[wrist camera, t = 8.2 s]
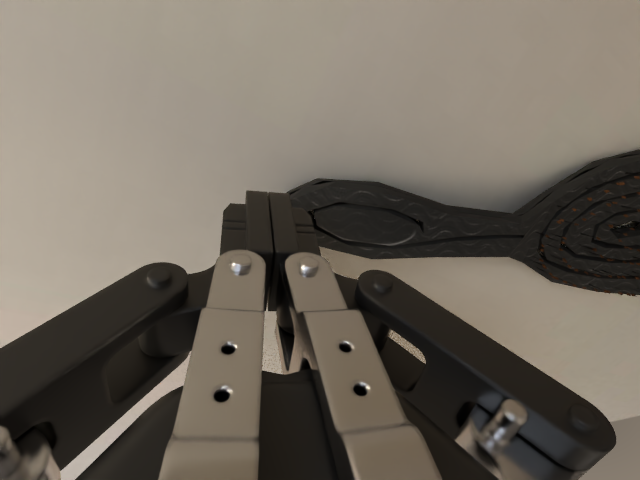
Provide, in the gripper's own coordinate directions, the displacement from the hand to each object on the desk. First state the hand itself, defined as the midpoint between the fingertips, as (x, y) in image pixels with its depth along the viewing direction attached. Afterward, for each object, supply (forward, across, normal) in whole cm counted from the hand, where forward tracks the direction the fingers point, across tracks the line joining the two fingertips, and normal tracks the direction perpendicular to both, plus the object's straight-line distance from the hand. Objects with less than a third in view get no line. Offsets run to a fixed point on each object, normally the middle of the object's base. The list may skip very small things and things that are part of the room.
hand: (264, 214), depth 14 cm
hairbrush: (+3, -14, +1) cm, 14 cm away
